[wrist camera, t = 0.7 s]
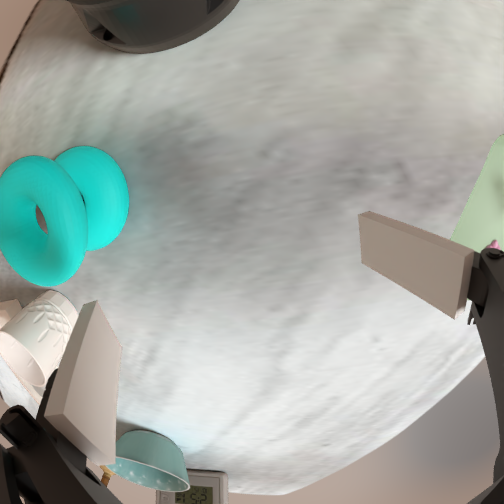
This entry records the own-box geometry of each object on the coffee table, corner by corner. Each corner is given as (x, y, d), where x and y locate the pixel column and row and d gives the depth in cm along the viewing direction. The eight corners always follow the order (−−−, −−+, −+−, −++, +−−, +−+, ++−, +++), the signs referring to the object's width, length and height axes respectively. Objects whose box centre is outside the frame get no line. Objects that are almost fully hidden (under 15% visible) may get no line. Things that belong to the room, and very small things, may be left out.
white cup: (94, 325, 30) (56, 381, 21) (66, 343, 32) (32, 391, 23) (54, 275, 28) (4, 321, 19) (31, 299, 30) (-11, 342, 20)
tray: (-14, 304, 31) (-24, 314, 28) (17, 298, 30) (5, 309, 27) (53, 404, 40) (47, 414, 37) (93, 411, 39) (87, 423, 36)
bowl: (208, 461, 43) (203, 496, 36) (140, 456, 45) (131, 486, 38) (174, 420, 37) (163, 463, 30) (99, 415, 39) (84, 449, 32)
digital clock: (231, 470, 45) (227, 513, 35) (231, 483, 49) (228, 521, 39) (154, 459, 45) (144, 499, 35) (162, 473, 49) (154, 509, 39)
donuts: (6, 290, 17) (-23, 174, 13) (64, 245, 26) (48, 155, 22) (89, 296, 17) (57, 143, 13) (141, 241, 26) (128, 135, 22)
